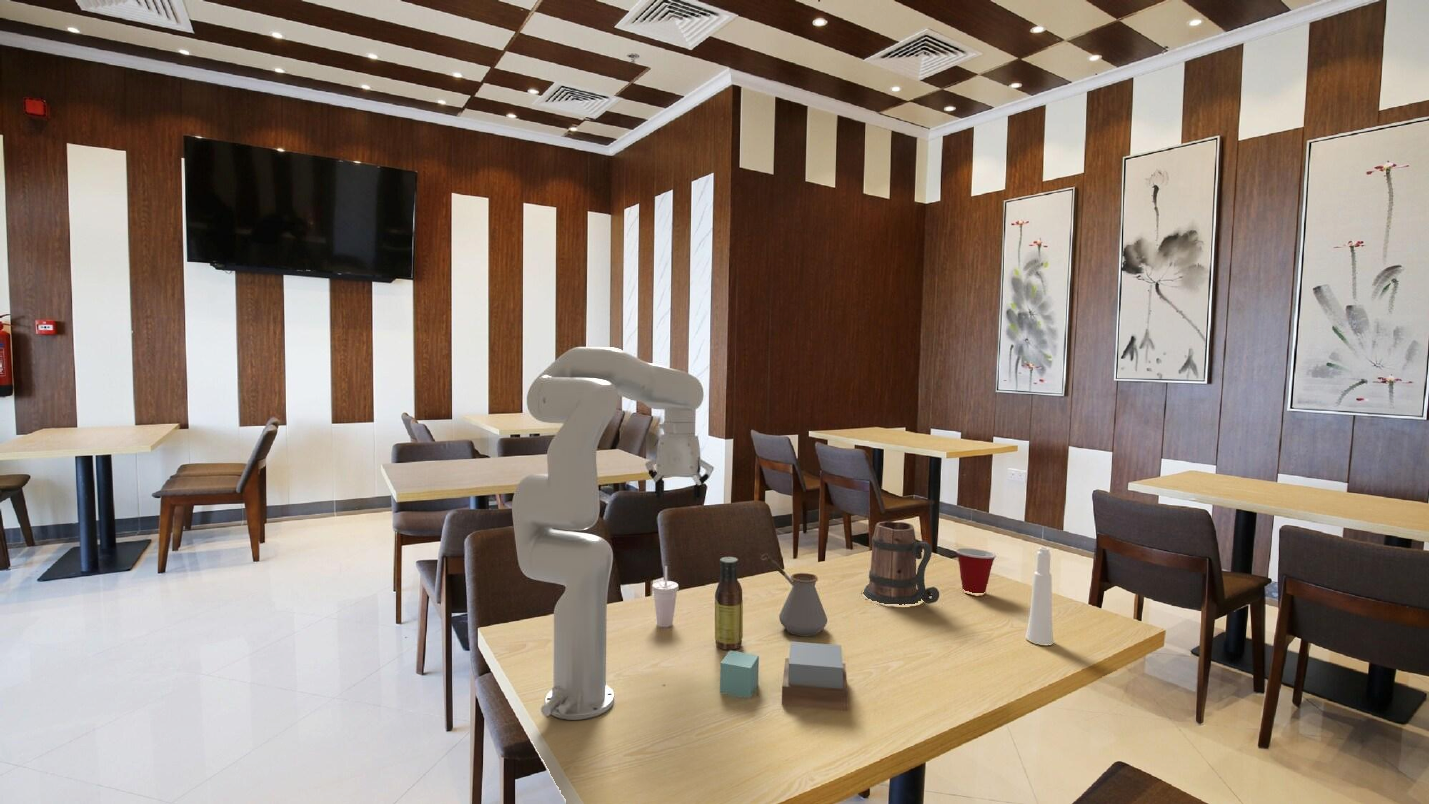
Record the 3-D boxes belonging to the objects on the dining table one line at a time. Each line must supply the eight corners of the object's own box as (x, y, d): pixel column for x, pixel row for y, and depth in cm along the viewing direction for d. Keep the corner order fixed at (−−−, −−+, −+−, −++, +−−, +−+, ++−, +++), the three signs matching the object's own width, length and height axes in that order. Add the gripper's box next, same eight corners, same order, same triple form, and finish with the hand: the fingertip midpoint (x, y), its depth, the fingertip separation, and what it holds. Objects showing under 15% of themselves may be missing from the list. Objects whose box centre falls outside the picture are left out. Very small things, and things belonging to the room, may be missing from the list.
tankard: (848, 592, 186) (850, 521, 185) (891, 583, 195) (893, 515, 194) (912, 620, 166) (915, 541, 165) (957, 609, 175) (961, 534, 174)
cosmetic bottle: (1024, 643, 154) (1029, 549, 153) (1025, 633, 159) (1030, 543, 158) (1053, 648, 151) (1058, 553, 150) (1054, 639, 157) (1058, 547, 155)
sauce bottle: (726, 637, 154) (728, 552, 153) (748, 645, 150) (750, 558, 149) (708, 646, 149) (709, 558, 148) (730, 654, 145) (732, 564, 144)
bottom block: (847, 713, 122) (847, 692, 122) (781, 707, 124) (782, 686, 124) (844, 682, 134) (845, 663, 134) (784, 677, 136) (785, 658, 136)
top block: (842, 688, 123) (843, 667, 123) (788, 684, 125) (788, 663, 125) (840, 664, 133) (840, 645, 133) (790, 660, 135) (790, 641, 134)
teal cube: (749, 698, 126) (750, 668, 126) (719, 693, 128) (720, 662, 128) (758, 684, 132) (758, 655, 131) (729, 679, 134) (729, 650, 133)
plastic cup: (997, 591, 190) (999, 549, 189) (991, 602, 180) (993, 558, 180) (958, 584, 195) (959, 543, 195) (949, 594, 186) (951, 552, 186)
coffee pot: (837, 633, 158) (839, 570, 157) (800, 643, 151) (802, 579, 150) (779, 605, 175) (780, 549, 174) (744, 613, 169) (745, 555, 168)
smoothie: (679, 619, 164) (680, 563, 163) (675, 630, 157) (676, 572, 157) (654, 618, 164) (655, 562, 164) (649, 628, 158) (649, 570, 157)
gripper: (640, 428, 160) (639, 499, 161) (708, 432, 154) (707, 505, 155) (652, 425, 167) (651, 493, 168) (718, 429, 161) (717, 499, 162)
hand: (678, 499), depth 161 cm, fingers open, 9 cm apart
